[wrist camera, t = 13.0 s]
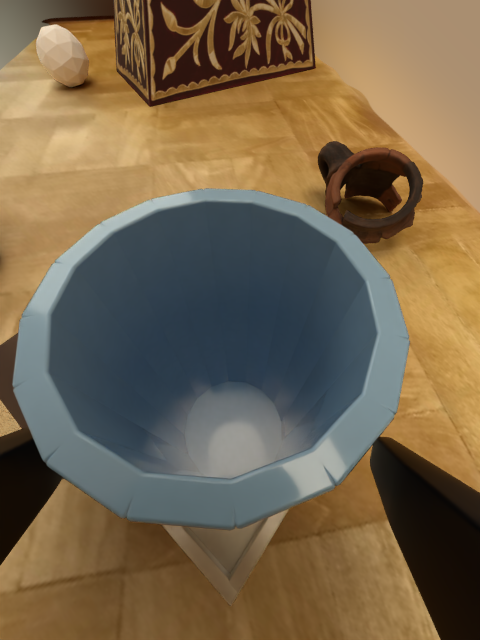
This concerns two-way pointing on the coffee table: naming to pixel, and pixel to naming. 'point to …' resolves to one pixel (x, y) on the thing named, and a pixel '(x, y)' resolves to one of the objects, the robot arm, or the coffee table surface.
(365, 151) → the brown hollow shell
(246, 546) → the walnut box
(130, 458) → the tall blue mug
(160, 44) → the decorative box
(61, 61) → the geometric ball
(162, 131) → the coffee table surface
